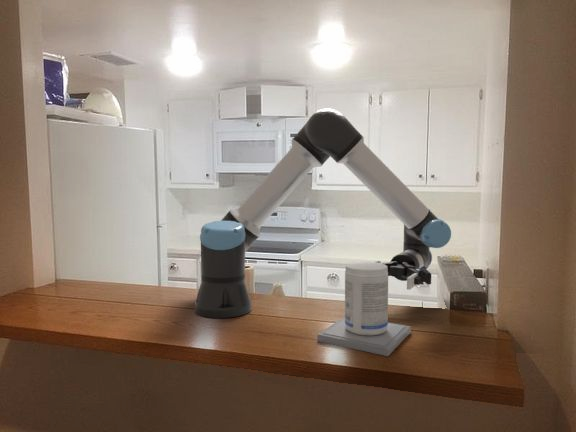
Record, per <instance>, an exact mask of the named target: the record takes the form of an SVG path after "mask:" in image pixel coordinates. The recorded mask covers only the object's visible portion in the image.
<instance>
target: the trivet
mask: <svg viewBox="0 0 576 432" xmlns="http://www.w3.org/2000/svg"><path fill="white" fill-rule="evenodd" d="M410 334H411V326H410V325H405V324H398V323H393V322H388V328H387V330H386V331H385V332H384V333H382V334H379V335H373V336H369V335H358V334H354V333H352V332H350V331H348V330H347V329H346V327H345V316H343V317H342V318H340V319H339V320H337V321H335V322H334V323H333V324H331V325H330V326H328V327H327V328H325V329H324V330H322V331H320V332H319V333H317V339H316V340H317V342H321V343H326V344H330V345H334V346H339V347H345V348H348V349H353V350H358V351H362V352H368V353H370V354H371V353H372V354H376V355H381V356H385V357H389V356H390V355H391V354H392V352H394V351H395V349H396V348H397V347H398V346H400V344H401V343H402V342H403V341H404V340H405V339H406V338H407V337H408V336H409V335H410Z"/></svg>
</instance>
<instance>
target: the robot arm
mask: <svg viewBox="0 0 576 432" xmlns="http://www.w3.org/2000/svg"><path fill="white" fill-rule="evenodd" d="M364 139H365V138H364V136H363V135H362V134H361V132H359V131H358V129H357V128H355V126H354V125H353V124H352V123H351V122H350V121H349V120H348V119H347V117H346V116H345V115H344V114H342V113H341V112H339V111H337V110H335V109H333V108H323V109H319V110H317V111H316V112H314V113H313V114H312V115H311V116H309V119H308V120H307V121H306V122H305V124H304V125H303V126H302V127H301V129H300V130H299V131H298V132H297V133H296V135H294V137H293V138H292V139H291V148H290V149H289V150H288V151H287V153H285V155H284V156H283V157H282V158H281V160H279V161H278V163H277V164H276V165H275V166H273V168H272V170H270V171H269V173H268V174H267V175H266V176H265V177H264V179H263V180H261V182H260V183H259V185H258V186H256V188H255V189H254V190H253V191H252V193H250V195H249V196H248V197H247V198H246V199H245V200H244V202H243V203H242V204H241V205H240V206H239V207H238V208H235V209H230V210H229V211H228V212H227V213H226V214H225V215H224V217H223V218H222V219H221V220H216V221H212V222H207V223H204V225H202V227H201V229H200V235H199V239H200V276H201V277H200V278H201V279H200V285H199V289H198V292H197V295H196V299H195V301H194V312H195V314H197V315H198V316H201V317H205V318H211V319H213V318H214V319H225V318H226V319H228V318H235V317H240V316H243V315H247V314H248V313H250V312H251V311H252V307H253V306H252V303H253V302H252V298H251V296H250V293H249V289H248V285H247V284H246V283H247V282H246V252H247V251H248V250H249V249H250V248H251V246H252V245H253V244H254V243H255V242H256V241H257V239H259V238H260V236H261V231H260V229H261V227H263V225H264V224H265V223H266V222H267V221H268V219H269V218H270V217H271V216H272V215H273V214H274V213H275V211H276V210H277V209H278V208H279V207H280V206H281V204H283V202H284V201H286V199H287V198H288V197H289V196H290V195H291V194H292V193H293V191H294V190H295V189H296V188H297V187H298V186H299V185H300V183H301V182H302V181H303V180H304V179H305V178H306V177H307V175H308V174H310V172H311V171H312V170H313V168H319V167H322V166H323V165H324V164H325V162H327V160H328V159H329V158H330V157H331V158H332V159H333V160H334V162H336V164H343V165H344V166H345V167H346V168H347V169H348V170H349V171H350V172H351V174H353V175H354V176H355V177H356V178H357V179H358V180H359V181H360V182H361V183H362V184H363V185H364V186H365V187H366V188H367V189H368V191H370V192H371V193H372V194H373V195H374V196H375V197H376V198H377V199H378V200H379V201H380V202H381V203H382V204H383V205H384V206H385V207H386V208H387V209H388V210H389V211H390V212H391V213H392V214H393V215H394V216H395V217H396V218H397V219H398V220H399V221H400V222H401V223H402V224H403V246H402V249H403V250H402V252H400V253H399V254H396V255H394V256H393V257H392V258H391V260H390V261H389V262H381V261H380V260H378V261H374V263H381V264H384V265H386V266H387V269H388V277H392V278H393V277H394V278H395V279H396V280H398V281H402V282H404V281H405V282H406V290H411V289H413V288H415V286H417V285H423V284H424V283H425V284H426V285H431V284H432V273H431V272H430V271H428V268H429V267H430V266H431V264H432V261H433V254H432V252H431V251H430V248H432V249H440V248H444V247H445V246H446V245H447V244H448V243H449V242H450V240H451V238H452V230H451V228H450V225H449V224H448V223H446V222H445V221H444V220H442V219H440V218H438V216H436V215H435V213H434V212H432V211H431V209H430V208H429V207H427V206H426V205H425V204H424V202H422V200H420V199H419V198H418V197H417V196H416V195H415V194H414V193H413V192H412V191H411V190H410V188H408V186H407V185H406V184H405V183H403V181H402V180H401V179H400V178H399V177H398V176H397V175H395V173H394V172H393V171H392V170H391V169H390V168H389V167H388V166H387V165H386V164H385V163H384V162H383V161H382V160H381V159H380V158H379V157H378V156H377V154H375V152H374V151H372V149H370V148H369V147H368V146H367V145H366V144H365V140H364Z"/></svg>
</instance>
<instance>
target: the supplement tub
mask: <svg viewBox="0 0 576 432" xmlns="http://www.w3.org/2000/svg"><path fill="white" fill-rule="evenodd" d="M374 262H375V261H374ZM374 262H373V261H372V262H371V261H356V262H355V261H354V262H350V263H346V265H345V271H344V317H345V327H346V329H347V330H348V331H350V332H352V333H354V334H358V335H369V336H373V335H379V334H382V333H384V332H385V331H386V330H387V328H388V323H389V321H388V320H389V276H388V269H387V266H386V265H384V264H382V262H381V263H374Z"/></svg>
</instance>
